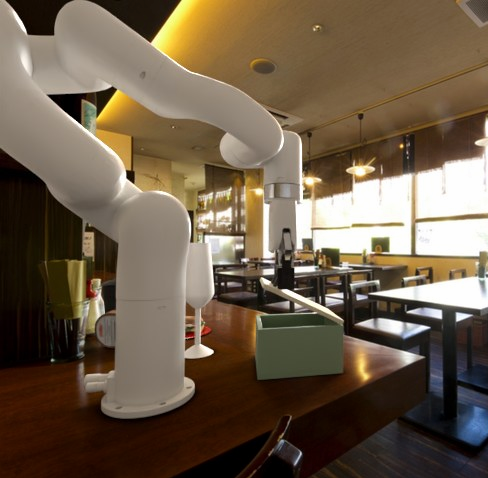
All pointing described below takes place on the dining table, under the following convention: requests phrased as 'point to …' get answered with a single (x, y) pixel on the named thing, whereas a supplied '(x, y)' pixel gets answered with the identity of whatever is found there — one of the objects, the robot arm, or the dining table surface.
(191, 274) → the champagne flute
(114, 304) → the drinking cup
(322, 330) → the chest
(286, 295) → the lid
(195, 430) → the dining table surface
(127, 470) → the dining table surface
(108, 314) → the tin
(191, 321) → the hamburger
